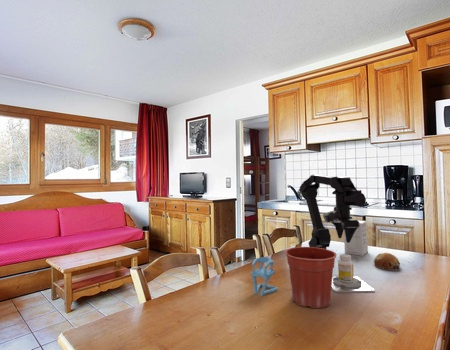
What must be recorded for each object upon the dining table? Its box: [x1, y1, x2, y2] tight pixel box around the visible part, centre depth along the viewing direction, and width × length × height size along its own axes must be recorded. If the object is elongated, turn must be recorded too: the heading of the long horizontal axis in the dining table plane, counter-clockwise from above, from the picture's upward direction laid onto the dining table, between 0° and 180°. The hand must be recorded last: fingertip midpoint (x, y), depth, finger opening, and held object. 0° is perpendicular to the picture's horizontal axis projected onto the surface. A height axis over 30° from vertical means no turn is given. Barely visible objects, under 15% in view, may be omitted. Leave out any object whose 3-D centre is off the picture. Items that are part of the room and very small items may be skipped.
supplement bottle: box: [337, 253, 354, 283], centre depth 107 cm, size 5×5×10 cm
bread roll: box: [373, 252, 401, 271], centre depth 127 cm, size 10×10×8 cm
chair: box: [250, 256, 279, 297], centre depth 103 cm, size 8×8×12 cm
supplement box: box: [343, 220, 369, 257], centre depth 151 cm, size 10×9×17 cm
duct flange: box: [331, 275, 376, 294], centre depth 107 cm, size 14×14×2 cm
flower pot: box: [284, 246, 337, 309], centre depth 94 cm, size 16×16×16 cm
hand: (343, 240), depth 124 cm, fingers open, 9 cm apart
